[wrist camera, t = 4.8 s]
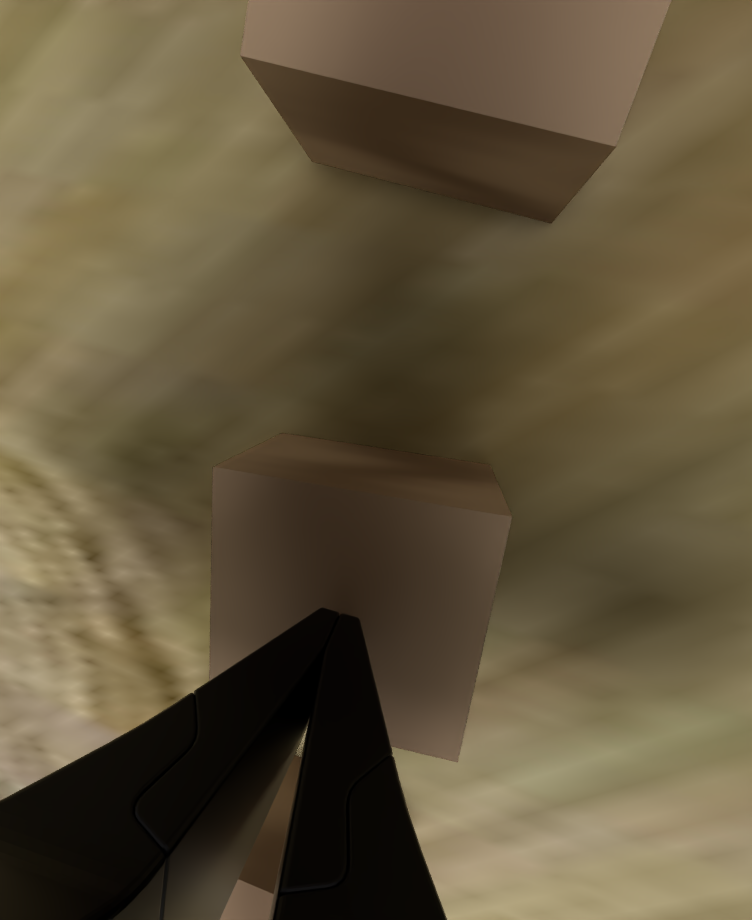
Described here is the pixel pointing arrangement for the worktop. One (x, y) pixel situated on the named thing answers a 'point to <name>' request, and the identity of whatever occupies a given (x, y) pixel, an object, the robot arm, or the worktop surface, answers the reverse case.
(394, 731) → the plain walnut block
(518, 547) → the worktop surface
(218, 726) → the robot arm
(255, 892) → the two-pip walnut block
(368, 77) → the one-pip walnut block
